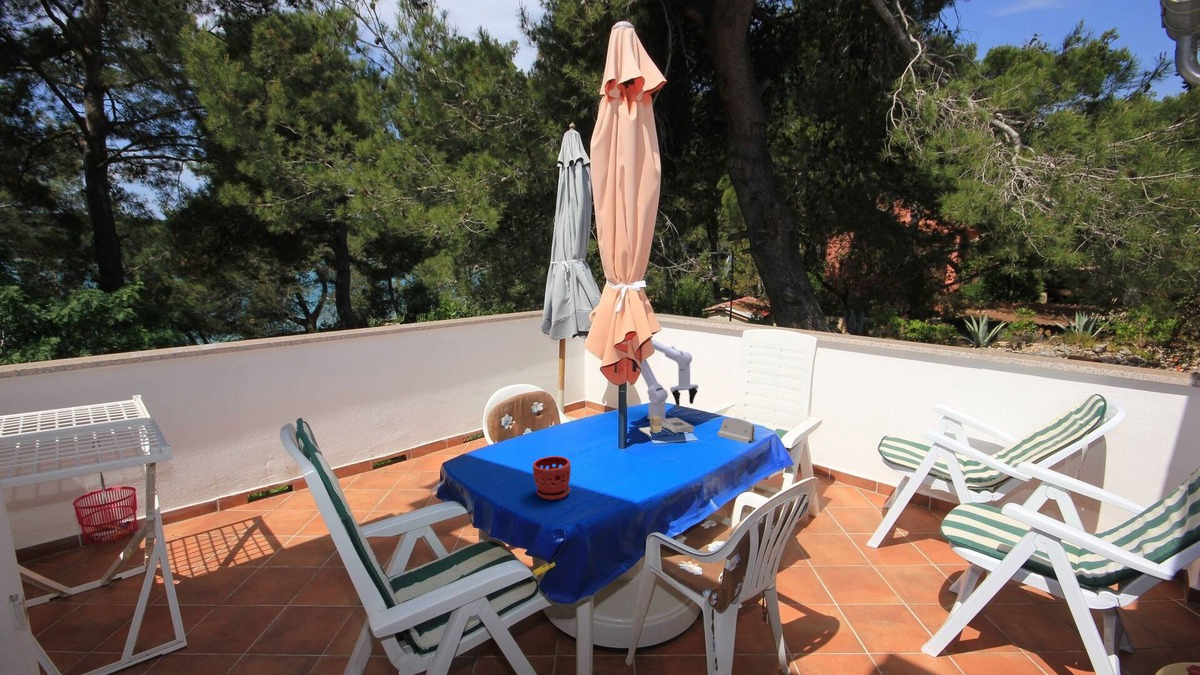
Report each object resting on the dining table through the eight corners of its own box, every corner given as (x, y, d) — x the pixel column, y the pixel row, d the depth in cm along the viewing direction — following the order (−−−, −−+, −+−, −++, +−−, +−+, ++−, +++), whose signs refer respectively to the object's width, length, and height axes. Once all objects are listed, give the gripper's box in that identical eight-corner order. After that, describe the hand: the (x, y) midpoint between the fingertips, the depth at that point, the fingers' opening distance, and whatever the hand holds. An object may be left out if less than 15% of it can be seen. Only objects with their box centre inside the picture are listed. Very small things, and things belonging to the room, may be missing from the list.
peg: (650, 431, 263) (650, 416, 262) (657, 430, 264) (657, 415, 263) (653, 433, 259) (653, 419, 258) (661, 432, 261) (661, 418, 260)
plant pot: (555, 484, 203) (554, 452, 201) (578, 494, 193) (578, 461, 191) (526, 494, 194) (525, 461, 192) (549, 506, 184) (548, 471, 183)
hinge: (716, 435, 257) (721, 414, 258) (721, 436, 260) (726, 416, 261) (748, 443, 245) (753, 421, 246) (753, 444, 248) (758, 423, 249)
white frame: (659, 425, 274) (659, 419, 273) (677, 423, 277) (677, 417, 277) (674, 434, 259) (674, 428, 258) (693, 432, 262) (693, 426, 262)
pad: (638, 429, 268) (638, 428, 267) (657, 427, 271) (657, 425, 271) (651, 437, 255) (651, 436, 255) (670, 435, 258) (670, 434, 258)
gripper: (675, 380, 265) (675, 407, 267) (701, 377, 271) (701, 404, 272) (668, 377, 272) (668, 404, 274) (694, 375, 277) (694, 401, 279)
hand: (684, 404), depth 273 cm, fingers open, 7 cm apart
